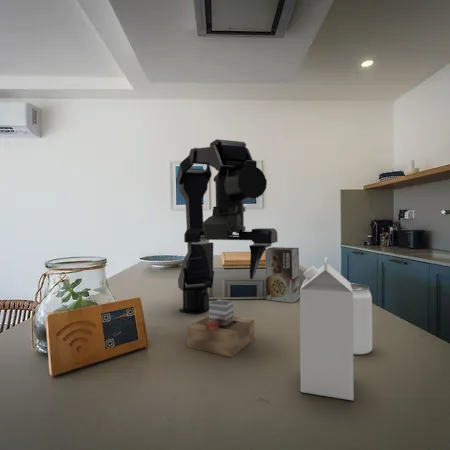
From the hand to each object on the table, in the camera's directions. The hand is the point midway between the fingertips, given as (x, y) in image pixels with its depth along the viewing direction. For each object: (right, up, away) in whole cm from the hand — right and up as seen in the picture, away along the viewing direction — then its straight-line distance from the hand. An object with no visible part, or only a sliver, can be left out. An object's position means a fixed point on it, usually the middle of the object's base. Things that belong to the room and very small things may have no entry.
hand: (230, 277), depth 65 cm
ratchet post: (-2, -13, -1) cm, 13 cm away
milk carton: (+14, -14, -18) cm, 26 cm away
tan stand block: (-2, -13, -1) cm, 13 cm away
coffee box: (+17, -13, +33) cm, 40 cm away
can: (+24, -13, -4) cm, 27 cm away
